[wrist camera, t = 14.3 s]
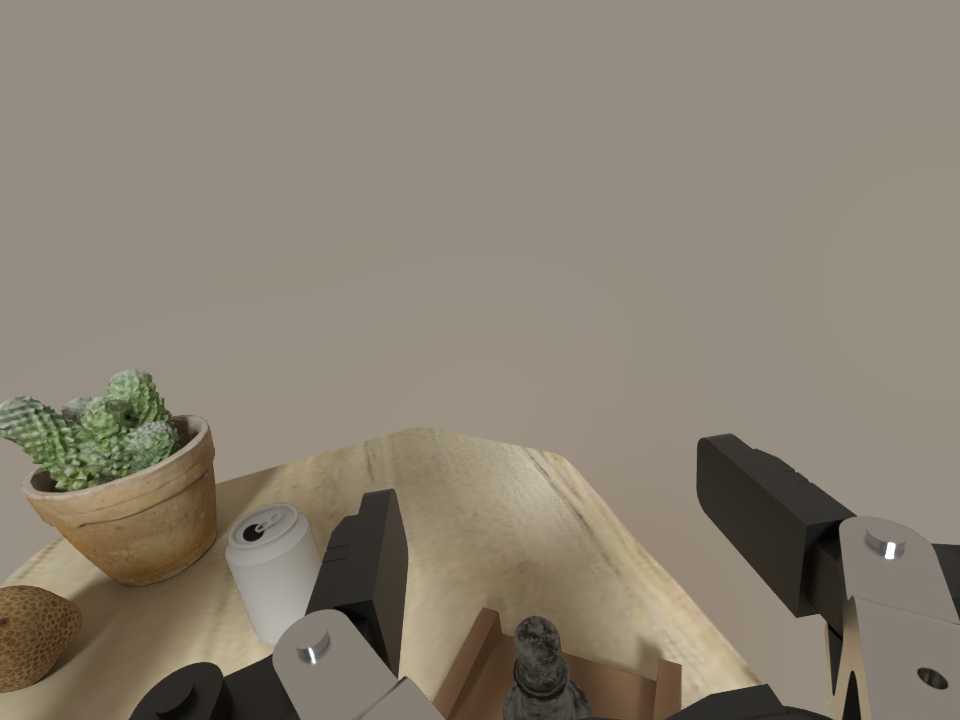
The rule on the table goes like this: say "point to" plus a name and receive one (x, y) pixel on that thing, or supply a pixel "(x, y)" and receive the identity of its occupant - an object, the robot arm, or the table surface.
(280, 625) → the can
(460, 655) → the brown piece
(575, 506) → the table surface
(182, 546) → the potted plant
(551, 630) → the salt shaker
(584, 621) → the table surface
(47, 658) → the natural sponge
